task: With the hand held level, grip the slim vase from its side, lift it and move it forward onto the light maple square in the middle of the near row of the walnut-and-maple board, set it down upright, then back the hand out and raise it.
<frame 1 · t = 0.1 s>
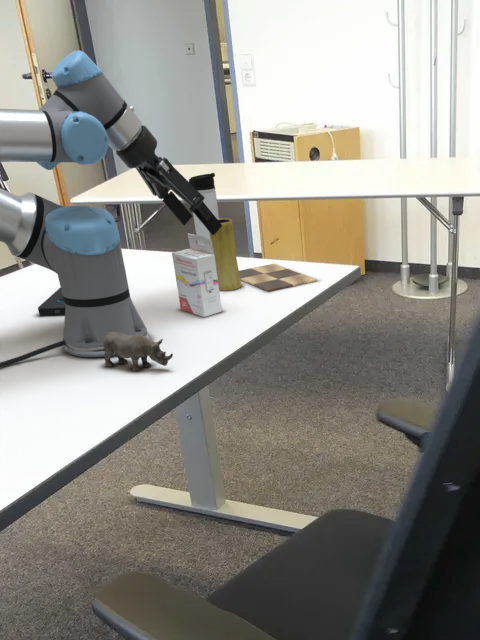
hand: (202, 225, 158), 15 cm above the table, tool tilted 35°, fingers open, 13 cm apart
ink cartridge box: (201, 311, 159), on the table
vase: (228, 287, 174), on the table
board: (271, 277, 179), on the table
smart home device: (71, 302, 168), on the table
travel mug: (212, 258, 197), on the table
rhino figurine: (141, 368, 132), on the table
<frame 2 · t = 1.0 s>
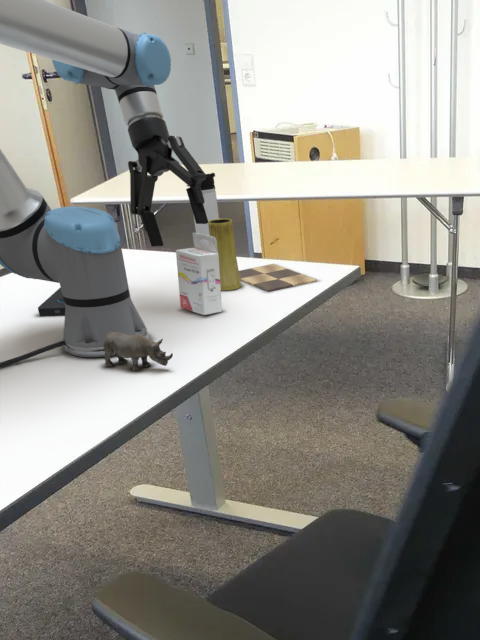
hand: (179, 235, 152), 15 cm above the table, tool tilted 25°, fingers open, 13 cm apart
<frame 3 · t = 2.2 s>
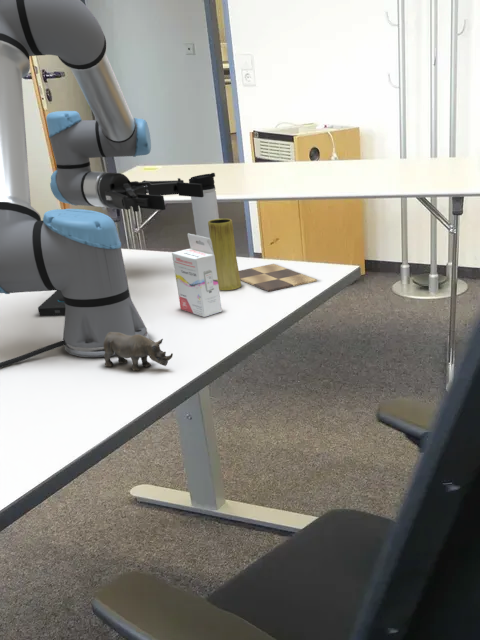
hand: (183, 196, 166), 19 cm above the table, tool horizontal, fingers open, 13 cm apart
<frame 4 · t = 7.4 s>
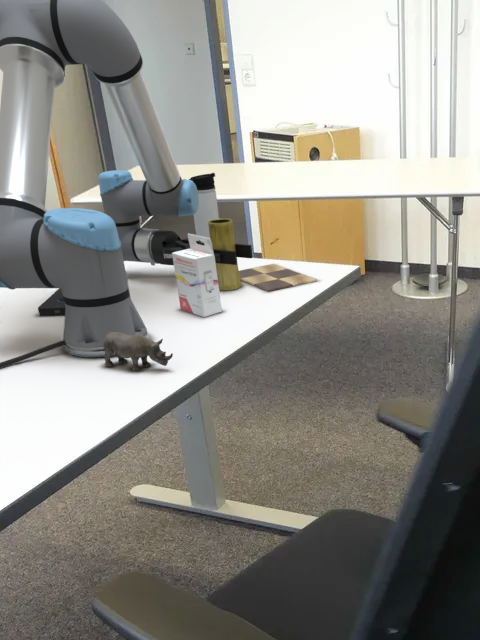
hand: (243, 254, 168), 8 cm above the table, tool horizontal, fingers closed on vase, 5 cm apart
vase: (228, 287, 174), on the table, touching gripper
everything else where it was.
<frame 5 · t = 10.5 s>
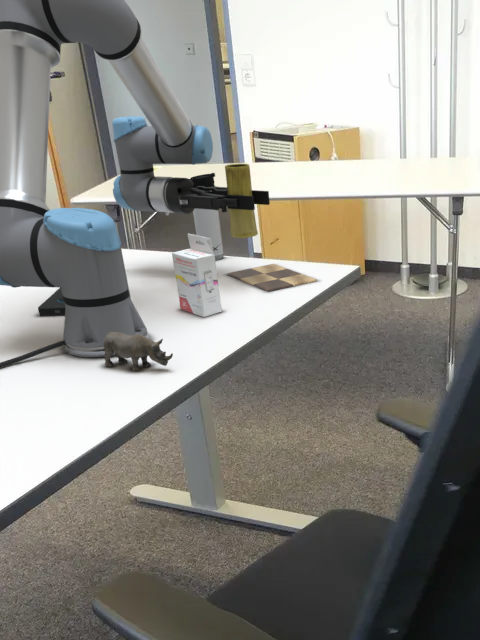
hand: (260, 200, 165), 18 cm above the table, tool horizontal, fingers closed on vase, 5 cm apart
vase: (244, 236, 171), point 10 cm above the table, touching gripper
everything else where it was.
when the fingers open (8 cm above the table, at t = 13.9 s): vase stays where it is, resting on board.
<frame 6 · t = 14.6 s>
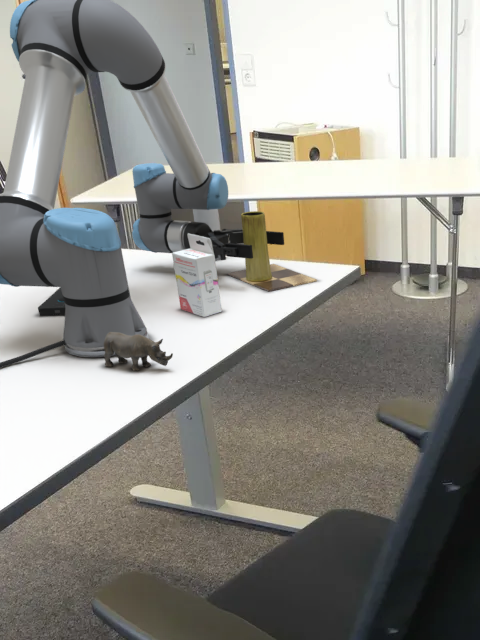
hand: (268, 245, 172), 8 cm above the table, tool horizontal, fingers open, 13 cm apart
vase: (259, 279, 178), resting on board
everything else where it was.
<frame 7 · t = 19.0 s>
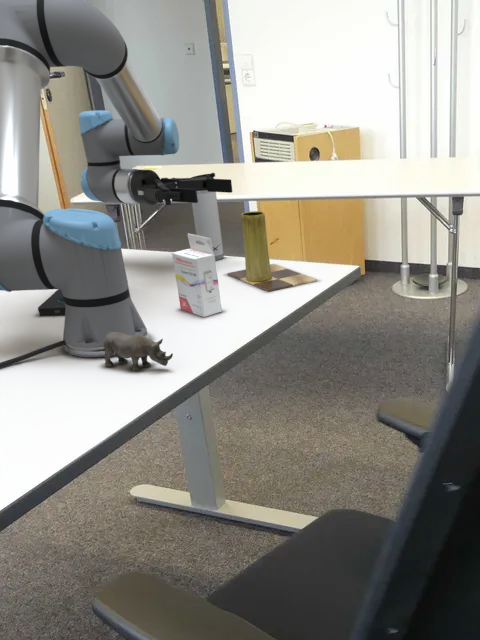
hand: (214, 190, 171), 19 cm above the table, tool horizontal, fingers open, 13 cm apart
nothing on the table moved.
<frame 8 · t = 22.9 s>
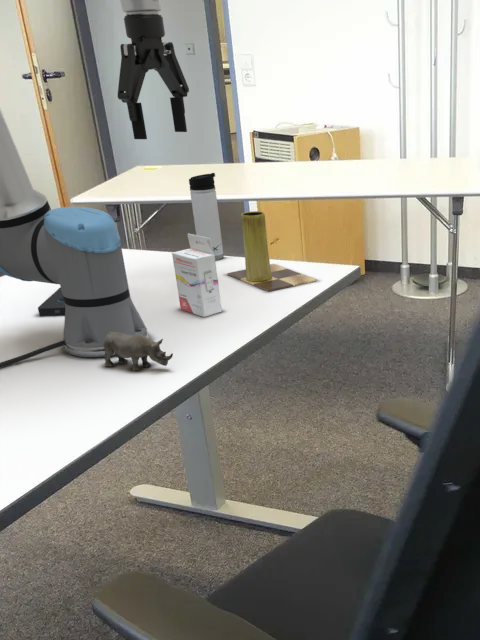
hand: (161, 135, 161), 31 cm above the table, tool pointing down, fingers open, 13 cm apart
nothing on the table moved.
at the end: vase 0.0 cm from the target spot, resting on board; vase tilted 0°; the gripper is holding nothing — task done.
